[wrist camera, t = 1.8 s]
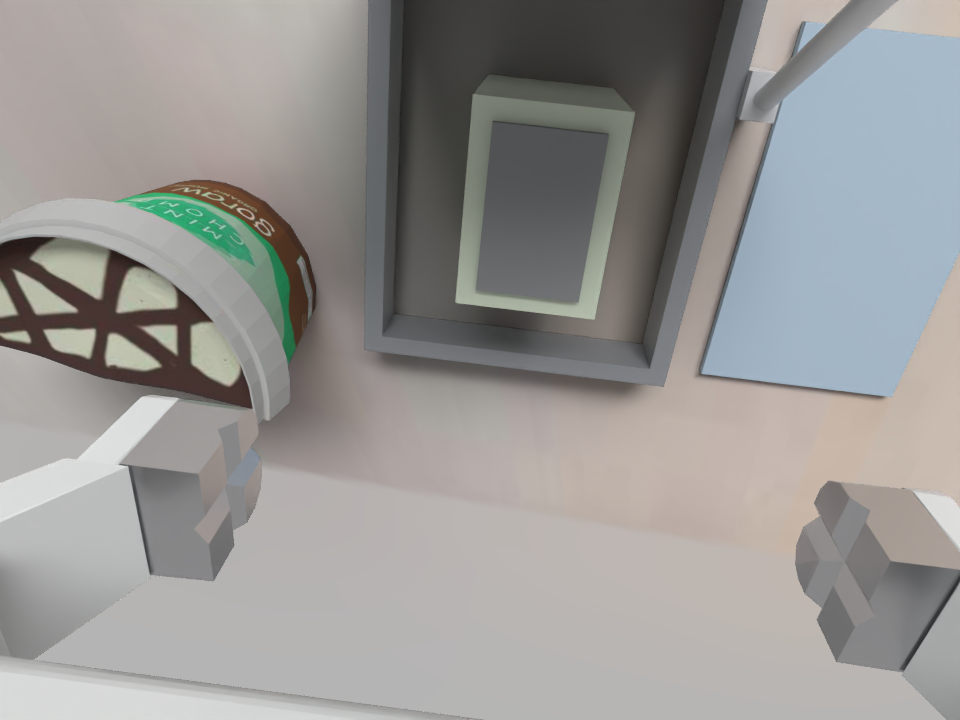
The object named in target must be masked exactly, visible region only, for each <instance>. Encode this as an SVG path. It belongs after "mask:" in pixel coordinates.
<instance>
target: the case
mask: <svg viewBox="0 0 960 720" xmlns="http://www.w3.org/2000/svg"><path fill="white" fill-rule="evenodd" d="M767 1H768V0H725V2H724V7H723V11H722V15H721V19H720V23H719V27H718V31H717V36H716V40H715V44H714V48H713V52H712V56H711V60H710V65H709V69H708V73H707V77H706V81H705V85H704V89H703V94H702V98H701V102H700V106H699V110H698V114H697V118H696V123H695V127H694V131H693V135H692V139H691V143H690V148H689V152H688V156H687V160H686V164H685V168H684V172H683V177H682V181H681V185H680V189H679V193H678V197H677V201H676V206H675V210H674V214H673V218H672V222H671V226H670V230H669V235H668V239H667V243H666V247H665V251H664V255H663V259H662V264H661V268H660V272H659V276H658V280H657V284H656V288H655V293H654V297H653V301H652V305H651V309H650V313H649V318H648V322H647V326H646V330H645V334H644V338H643V342H642V344H639V343H631V342H622V341H614V340H606V339H598V338H590V337H581V336H573V335H565V334H557V333H548V332H540V331H532V330H524V329H515V328H507V327H499V326H491V325H483V324H474V323H466V322H458V321H450V320H441V319H433V318H425V317H417V316H408V315H400V314H393V305H394V276H395V247H396V218H397V189H398V161H399V132H400V103H401V74H402V45H403V17H404V0H368V82H367V167H366V251H365V336H364V350H368V351H376V352H384V353H392V354H400V355H409V356H417V357H425V358H433V359H441V360H449V361H457V362H465V363H473V364H482V365H490V366H498V367H506V368H514V369H522V370H530V371H538V372H547V373H555V374H563V375H571V376H579V377H587V378H595V379H603V380H612V381H620V382H628V383H636V384H644V385H652V386H660V387H664V384H665V381H666V377H667V373H668V369H669V366H670V362H671V358H672V354H673V351H674V347H675V343H676V340H677V336H678V332H679V328H680V325H681V321H682V317H683V313H684V310H685V306H686V302H687V299H688V295H689V291H690V287H691V284H692V280H693V276H694V273H695V269H696V265H697V261H698V258H699V254H700V250H701V246H702V243H703V239H704V235H705V232H706V228H707V224H708V220H709V217H710V213H711V209H712V205H713V202H714V198H715V194H716V191H717V187H718V183H719V179H720V176H721V172H722V168H723V165H724V161H725V157H726V153H727V150H728V146H729V142H730V138H731V135H732V131H733V127H734V124H735V120H736V118H738V119H739V120H747V121H756V122H765V123H774V120H775V116H776V113H777V110H778V106H779V103H780V102H781V101H782V100H783V99H784V98H785V97H787V96H788V95H789V94H790V93H791V92H792V91H794V90H795V89H796V88H797V87H798V86H799V85H801V84H802V83H803V82H804V81H805V80H806V79H808V78H809V77H810V76H811V75H812V74H813V73H814V72H816V71H817V70H818V69H819V68H820V67H821V66H823V65H824V64H825V63H826V62H827V61H828V60H830V59H831V58H832V57H833V56H834V55H835V54H837V53H838V52H839V51H840V50H841V49H842V48H843V47H845V46H846V45H847V44H848V43H849V42H850V41H852V40H853V39H854V38H855V37H856V36H857V35H859V34H860V33H861V32H862V31H863V30H864V29H866V28H867V27H868V26H869V25H870V24H871V23H872V22H874V21H875V20H876V19H877V18H878V17H879V16H881V15H882V14H883V13H884V12H885V11H886V10H888V9H889V8H890V7H891V6H892V5H893V4H895V3H896V2H897V1H898V0H851V1H850V2H849V3H848V4H847V5H846V6H845V7H844V8H843V9H842V10H841V11H840V12H839V13H837V14H836V15H835V16H834V17H833V18H832V19H831V20H830V21H829V22H828V23H827V24H826V25H825V26H824V27H823V28H822V29H821V30H820V31H819V32H818V33H817V34H816V35H815V36H814V37H813V38H812V39H811V40H810V41H809V42H808V43H807V44H806V45H805V46H804V47H803V48H802V49H801V50H800V51H799V52H798V53H797V54H796V55H795V56H794V57H792V58H791V59H790V60H789V61H788V62H787V63H786V64H785V65H784V66H783V67H782V68H781V69H780V70H779V71H778V72H775V71H771V70H767V69H763V68H757V67H750V64H751V60H752V57H753V53H754V49H755V45H756V42H757V38H758V34H759V30H760V27H761V23H762V19H763V16H764V12H765V8H766V4H767Z"/></svg>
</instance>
